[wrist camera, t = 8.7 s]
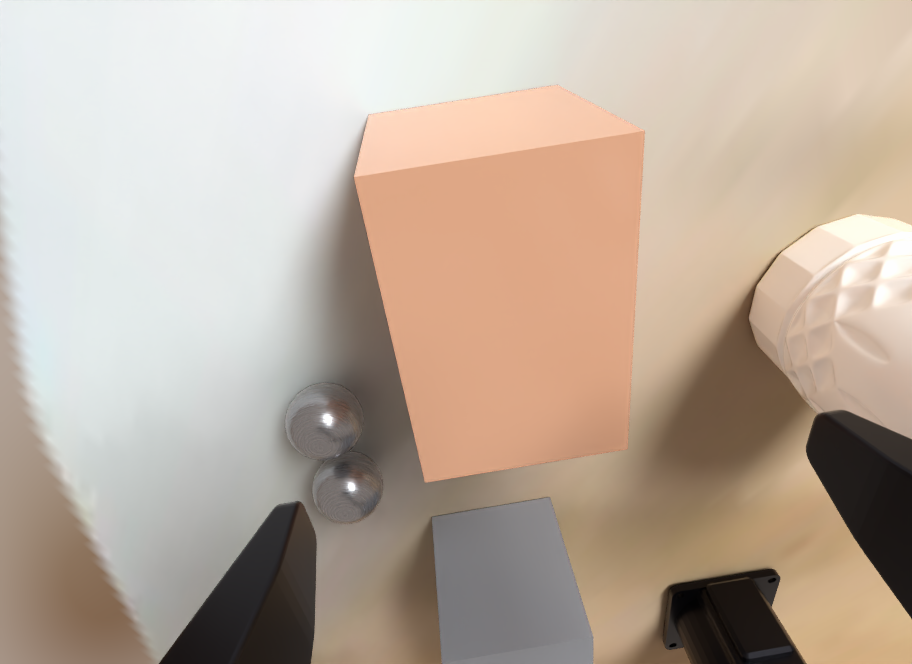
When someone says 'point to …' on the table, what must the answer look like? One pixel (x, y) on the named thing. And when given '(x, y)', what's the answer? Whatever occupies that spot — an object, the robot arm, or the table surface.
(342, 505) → the marble
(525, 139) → the peach rectangular block
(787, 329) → the white cup
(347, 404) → the marble
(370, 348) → the table surface
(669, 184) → the table surface
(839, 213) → the table surface
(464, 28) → the table surface
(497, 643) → the pale grey box
